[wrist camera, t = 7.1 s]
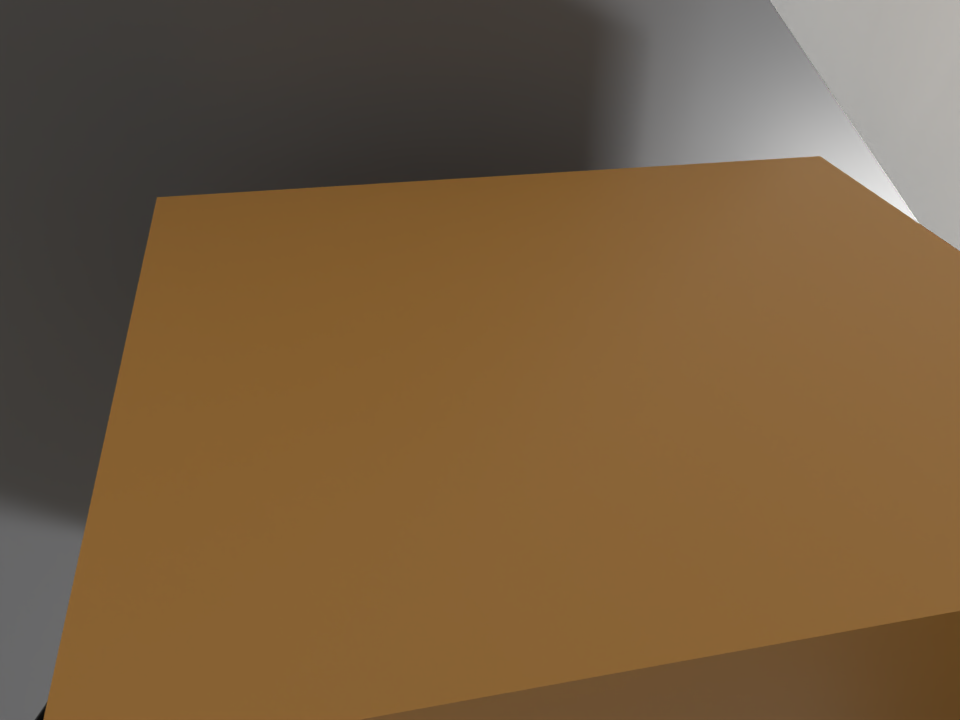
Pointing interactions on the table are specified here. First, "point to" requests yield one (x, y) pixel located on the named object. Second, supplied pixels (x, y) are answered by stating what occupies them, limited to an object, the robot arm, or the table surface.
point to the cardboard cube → (530, 456)
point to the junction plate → (310, 174)
